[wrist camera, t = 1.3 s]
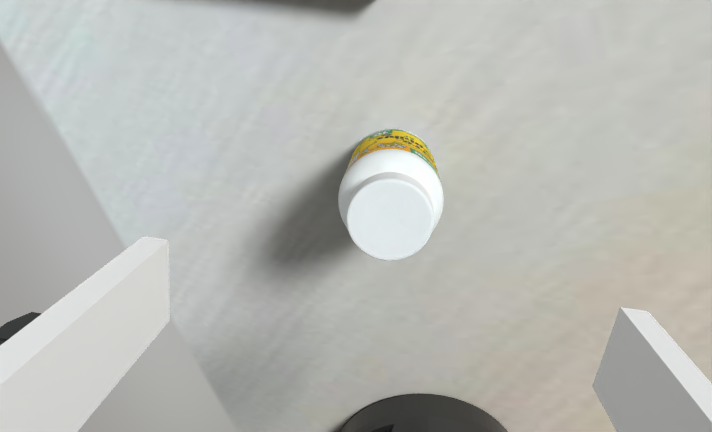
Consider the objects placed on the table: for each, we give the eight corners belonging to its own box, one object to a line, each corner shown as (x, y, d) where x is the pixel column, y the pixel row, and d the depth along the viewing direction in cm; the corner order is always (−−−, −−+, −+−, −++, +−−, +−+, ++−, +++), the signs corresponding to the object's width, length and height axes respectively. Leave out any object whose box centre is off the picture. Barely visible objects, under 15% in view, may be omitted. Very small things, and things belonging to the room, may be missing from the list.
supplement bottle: (337, 188, 32) (311, 246, 23) (370, 112, 30) (357, 143, 21) (413, 221, 32) (416, 291, 23) (450, 148, 31) (470, 193, 22)
